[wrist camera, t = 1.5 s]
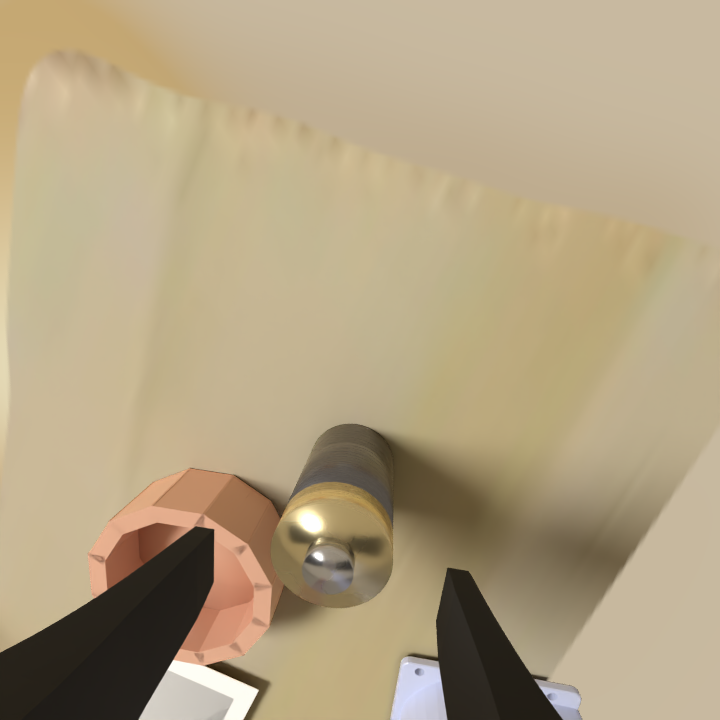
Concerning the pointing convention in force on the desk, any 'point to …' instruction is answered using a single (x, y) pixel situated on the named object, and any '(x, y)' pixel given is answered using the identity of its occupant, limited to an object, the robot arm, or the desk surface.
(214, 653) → the peach round shallow bowl
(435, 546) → the desk surface
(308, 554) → the battery
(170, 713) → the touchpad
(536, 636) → the desk surface
